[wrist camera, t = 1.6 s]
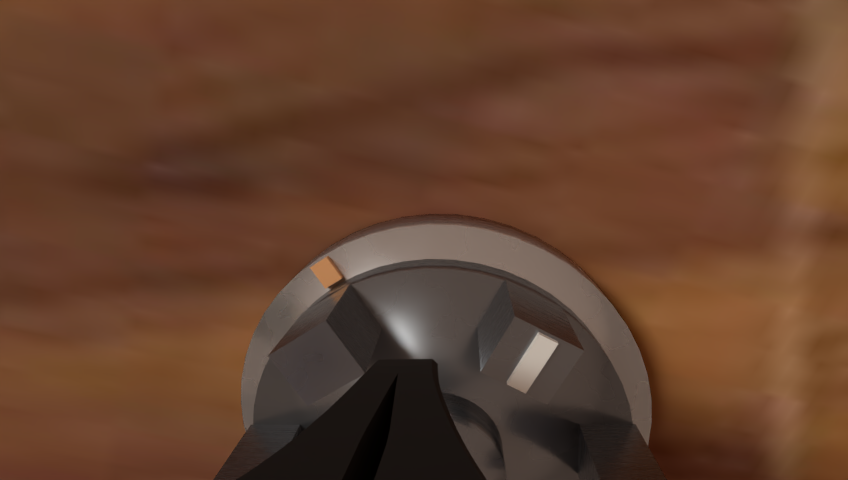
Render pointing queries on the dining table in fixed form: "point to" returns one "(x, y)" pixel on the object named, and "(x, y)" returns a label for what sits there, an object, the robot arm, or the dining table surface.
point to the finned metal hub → (459, 371)
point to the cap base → (462, 243)
